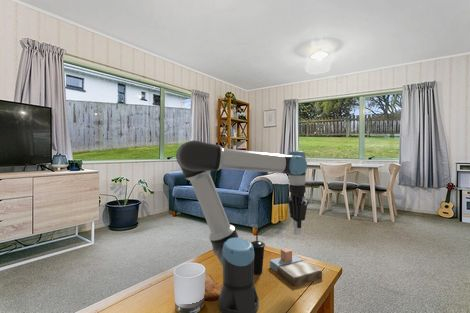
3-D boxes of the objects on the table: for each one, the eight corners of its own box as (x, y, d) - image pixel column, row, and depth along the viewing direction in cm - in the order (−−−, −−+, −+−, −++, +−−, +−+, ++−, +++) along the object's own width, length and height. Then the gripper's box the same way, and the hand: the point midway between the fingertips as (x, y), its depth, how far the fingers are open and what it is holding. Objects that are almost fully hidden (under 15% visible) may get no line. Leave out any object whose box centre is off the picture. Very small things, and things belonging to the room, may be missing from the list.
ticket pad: (293, 286, 104) (293, 277, 104) (277, 273, 115) (277, 266, 115) (322, 278, 110) (322, 270, 110) (304, 267, 121) (304, 259, 121)
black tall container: (246, 274, 115) (246, 231, 115) (252, 267, 121) (252, 227, 121) (261, 277, 111) (261, 234, 111) (267, 270, 118) (267, 229, 118)
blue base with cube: (277, 272, 115) (277, 255, 115) (269, 266, 122) (269, 250, 122) (302, 266, 122) (302, 250, 121) (293, 261, 128) (293, 245, 128)
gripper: (313, 185, 109) (313, 237, 109) (294, 182, 121) (294, 229, 121) (300, 186, 106) (300, 239, 106) (282, 183, 118) (282, 231, 118)
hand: (297, 234), depth 114 cm, fingers closed
